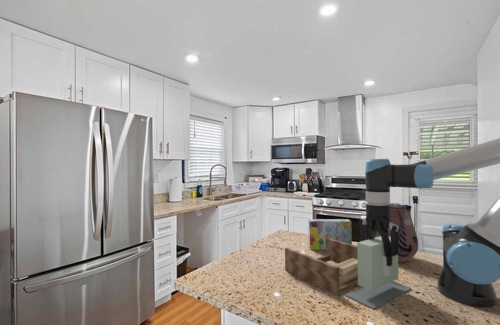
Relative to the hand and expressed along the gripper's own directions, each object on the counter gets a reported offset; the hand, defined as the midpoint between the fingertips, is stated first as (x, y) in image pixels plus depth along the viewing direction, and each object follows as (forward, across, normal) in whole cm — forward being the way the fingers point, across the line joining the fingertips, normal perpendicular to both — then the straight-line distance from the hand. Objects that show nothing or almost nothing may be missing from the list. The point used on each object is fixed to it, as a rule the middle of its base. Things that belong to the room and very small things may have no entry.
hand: (378, 271), depth 89 cm
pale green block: (+3, 0, 0) cm, 3 cm away
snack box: (+7, +41, -24) cm, 48 cm away
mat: (+7, 0, 0) cm, 7 cm away
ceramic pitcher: (+7, +15, -36) cm, 40 cm away
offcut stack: (+7, +12, 0) cm, 14 cm away
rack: (+7, +20, 0) cm, 21 cm away
